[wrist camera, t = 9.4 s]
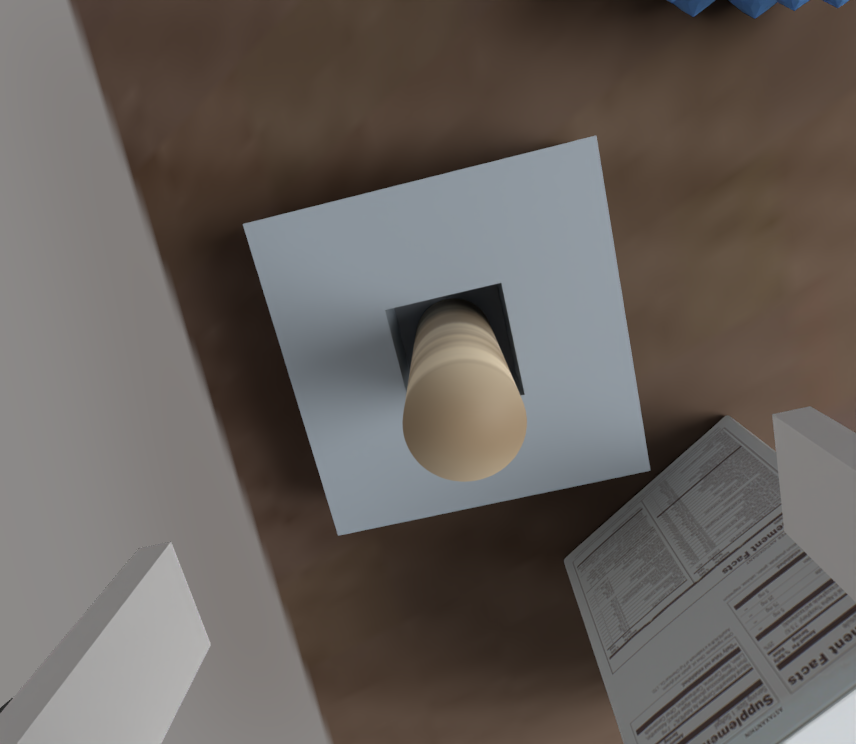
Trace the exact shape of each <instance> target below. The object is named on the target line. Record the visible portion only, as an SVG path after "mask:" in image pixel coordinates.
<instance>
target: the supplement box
mask: <svg viewBox="0 0 856 744" xmlns="http://www.w3.org/2000/svg"><path fill="white" fill-rule="evenodd" d="M564 564H565V567H566V570H567V573H568V576H569V579H570V582H571V585H572V588H573V591H574V594H575V597H576V600H577V603H578V606H579V609H580V612H581V615H582V618H583V621H584V624H585V627H586V630H587V633H588V636H589V639H590V642H591V645H592V648H593V652H594V655H595V658H596V661H597V664H598V667H599V670H600V673H601V676H602V679H603V682H604V685H605V688H606V691H607V694H608V697H609V700H610V703H611V706H612V709H613V712H614V715H615V718H616V721H617V724H618V727H619V730H620V733H621V736H622V739H623V742H624V744H856V602H855V601H854V600H853V599H852V598H851V597H850V596H849V595H848V594H847V593H846V592H845V591H844V590H843V589H842V588H841V587H840V586H839V585H838V584H837V583H836V582H835V581H834V580H833V579H832V578H831V577H829V576H828V575H827V574H826V573H825V572H824V571H823V570H822V569H821V568H820V567H819V566H818V565H817V564H816V563H815V562H814V561H813V560H812V559H811V558H810V557H809V556H808V555H807V554H806V553H805V552H804V551H803V550H802V549H801V548H800V547H799V546H798V545H797V544H796V543H795V542H794V541H793V540H792V539H791V538H790V537H789V536H788V535H787V534H786V533H785V532H784V524H783V514H782V504H781V495H780V485H779V475H778V465H777V456H776V452H775V451H774V450H773V449H772V448H770V447H769V446H768V445H766V444H765V443H764V442H763V441H761V440H760V439H759V438H757V437H756V436H755V435H753V434H752V433H751V432H750V431H748V430H747V429H746V428H744V427H743V426H742V425H741V424H739V423H738V422H737V421H735V420H734V419H733V418H731V417H730V416H725V417H724V418H722V419H721V420H720V421H719V422H718V423H717V424H716V425H715V426H714V427H712V428H711V429H710V430H709V431H708V432H707V433H706V434H704V435H703V436H702V437H701V438H700V439H699V440H698V441H697V442H695V443H694V444H693V445H692V446H691V447H690V448H689V449H687V450H686V451H685V452H684V453H683V454H682V455H681V456H679V457H678V458H677V459H676V460H675V461H674V462H673V463H672V464H670V465H669V466H668V467H667V468H666V469H665V470H664V471H662V472H661V473H660V474H659V475H658V476H657V477H656V478H655V479H653V480H652V481H651V482H650V483H649V484H648V485H647V486H646V487H644V488H643V489H642V490H641V491H640V492H639V493H638V494H636V495H635V496H634V497H633V498H632V499H631V500H630V501H629V502H627V503H626V504H625V505H624V506H623V507H622V508H621V509H619V510H618V511H617V512H616V513H615V514H614V515H613V516H612V517H610V518H609V519H608V520H607V521H606V522H605V523H604V524H603V525H601V526H600V527H599V528H598V529H597V530H596V531H595V532H594V533H592V534H591V535H590V536H589V537H588V538H587V539H586V540H585V541H583V542H582V543H581V544H580V545H579V546H578V547H577V548H576V549H574V550H573V551H572V552H571V553H570V554H569V555H568V556H567V557H566V558H565V559H564Z"/></svg>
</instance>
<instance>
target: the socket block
mask: <svg viewBox="0 0 856 744" xmlns="http://www.w3.org/2000/svg"><path fill="white" fill-rule="evenodd" d="M243 227H244V230H245V233H246V237H247V240H248V243H249V246H250V250H251V253H252V256H253V260H254V263H255V266H256V269H257V273H258V276H259V279H260V282H261V286H262V289H263V292H264V295H265V299H266V302H267V305H268V308H269V312H270V315H271V318H272V322H273V325H274V328H275V331H276V335H277V338H278V341H279V344H280V348H281V351H282V354H283V357H284V361H285V364H286V367H287V370H288V374H289V377H290V380H291V383H292V387H293V390H294V393H295V397H296V400H297V403H298V406H299V410H300V413H301V416H302V419H303V423H304V426H305V429H306V432H307V436H308V439H309V442H310V445H311V449H312V452H313V455H314V458H315V462H316V465H317V468H318V472H319V475H320V478H321V481H322V485H323V488H324V491H325V494H326V498H327V501H328V504H329V507H330V511H331V514H332V517H333V520H334V524H335V527H336V530H337V534H338V536H339V535H344V534H349V533H353V532H358V531H363V530H368V529H373V528H377V527H382V526H387V525H392V524H397V523H401V522H406V521H411V520H416V519H421V518H425V517H430V516H435V515H440V514H445V513H449V512H454V511H459V510H464V509H469V508H474V507H478V506H483V505H488V504H493V503H498V502H502V501H507V500H512V499H517V498H522V497H526V496H531V495H536V494H541V493H546V492H550V491H555V490H560V489H565V488H570V487H574V486H579V485H584V484H589V483H594V482H598V481H603V480H608V479H613V478H618V477H623V476H627V475H632V474H637V473H642V472H647V471H650V464H649V458H648V452H647V446H646V440H645V434H644V427H643V421H642V415H641V409H640V403H639V397H638V390H637V384H636V378H635V372H634V366H633V359H632V353H631V347H630V341H629V335H628V329H627V322H626V316H625V310H624V304H623V298H622V292H621V285H620V279H619V273H618V267H617V261H616V254H615V248H614V242H613V236H612V230H611V224H610V217H609V211H608V205H607V199H606V193H605V187H604V180H603V174H602V168H601V162H600V156H599V149H598V143H597V137H596V136H592V137H588V138H584V139H580V140H576V141H572V142H568V143H565V144H561V145H557V146H553V147H549V148H545V149H541V150H537V151H533V152H529V153H525V154H521V155H517V156H513V157H509V158H505V159H501V160H497V161H493V162H489V163H485V164H481V165H477V166H473V167H469V168H465V169H461V170H457V171H453V172H449V173H445V174H441V175H437V176H433V177H429V178H425V179H421V180H417V181H413V182H409V183H405V184H401V185H397V186H393V187H389V188H385V189H381V190H377V191H373V192H369V193H365V194H361V195H357V196H353V197H349V198H345V199H341V200H337V201H333V202H329V203H325V204H321V205H317V206H313V207H309V208H305V209H301V210H297V211H293V212H289V213H285V214H281V215H277V216H273V217H269V218H265V219H261V220H257V221H253V222H249V223H245V224H243ZM451 298H457V299H463V300H466V301H469V302H471V303H473V304H475V305H476V306H477V307H479V308H480V309H481V310H482V311H483V313H484V314H485V315H486V317H487V319H488V321H489V323H490V326H491V328H492V330H493V333H494V335H495V337H496V340H497V342H498V344H499V347H500V349H501V351H502V354H503V356H504V358H505V361H506V363H507V365H508V368H509V370H510V372H511V375H512V377H513V379H514V382H515V384H516V386H517V389H518V391H519V393H520V396H521V398H522V400H523V403H524V406H525V410H526V416H527V429H526V435H525V438H524V442H523V444H522V446H521V448H520V450H519V452H518V453H517V455H516V456H515V458H514V459H513V460H512V461H511V462H510V463H509V464H508V465H507V466H506V467H505V468H503V469H502V470H501V471H499V472H497V473H496V474H494V475H492V476H489V477H487V478H484V479H481V480H476V481H468V482H460V481H452V480H447V479H444V478H441V477H439V476H437V475H435V474H433V473H431V472H429V471H428V470H426V469H425V468H424V467H423V466H421V465H420V464H419V463H418V462H417V460H416V459H415V458H414V457H413V455H412V454H411V452H410V450H409V448H408V446H407V444H406V441H405V438H404V434H403V424H402V421H403V412H404V406H405V399H406V393H407V386H408V380H409V374H410V367H411V361H412V355H413V348H414V342H415V336H416V329H417V325H418V322H419V320H420V318H421V316H422V315H423V313H424V312H425V311H426V310H427V309H428V308H429V307H430V306H432V305H433V304H435V303H437V302H439V301H441V300H445V299H451Z"/></svg>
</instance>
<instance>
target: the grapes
mask: <svg viewBox="0 0 856 744" xmlns="http://www.w3.org/2000/svg"><path fill="white" fill-rule="evenodd" d="M667 1H669V2H670V3H673V4H674V5H676V6H677V7H678V8H679V9H681V10H682V11H684V12H685V13H687V14H689V15H690V16H692V17H694V16H696V15H697V14H698V13H700V12H701V11H702V10H704V9H705V8H706V7H708V6H709V5H710V4H711V3H713V2H714V1H715V0H667ZM728 1H730V2H731V3H732V4H733V5H735V6H736V7H737V8H738V9H739V10H741V11H742V12H743V13H745V14H747V15H749V16H751V17H752V18H754V19H755V18H757V17H758V16H760V15H761V14H762V13H764V12H765V11H767V10H768V9H770V8H771V7H772V6H773V5H774V4H776V3H777V2H779V3H780V4H782V5H784V6H786V7H788V8H790V9H791V10H793V11H795V10H796V9H798V8H799V7H801V6H802V5H804V4H805V3H807V2H808V1H809V0H728ZM823 1H825V2H827V3H829V4H831V5H833V6H835V7H836V8H839V7H840V6H842V5H843V4H845V3H846V2H848V1H849V0H823Z"/></svg>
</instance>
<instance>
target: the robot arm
mask: <svg viewBox="0 0 856 744" xmlns="http://www.w3.org/2000/svg"><path fill="white" fill-rule="evenodd" d="M772 417H773V427H774V436H775V446H776V456H777V465H778V475H779V485H780V495H781V504H782V514H783V524H784V532H785V533H786V534H787V535H788V536H789V537H790V538H791V539H792V540H793V541H794V542H795V543H796V544H797V545H798V546H799V547H800V548H801V549H802V550H803V551H804V552H805V553H806V554H807V555H808V556H809V557H810V558H811V559H812V560H813V561H814V562H815V563H816V564H817V565H818V566H819V567H820V568H821V569H822V570H823V571H824V572H825V573H826V574H827V575H828V576H829V577H831V578H832V579H833V580H834V581H835V582H836V583H837V584H838V585H839V586H840V587H841V588H842V589H843V590H844V591H845V592H846V593H847V594H848V595H849V596H850V597H851V598H852V599H853V600H854V601H855V602H856V433H855V432H853V431H851V430H850V429H848V428H846V427H845V426H843V425H841V424H839V423H838V422H836V421H834V420H833V419H831V418H829V417H827V416H826V415H824V414H822V413H821V412H819V411H817V410H816V409H814V408H812V407H805V408H800V409H796V410H791V411H786V412H781V413H777V414H772ZM210 645H211V643H210V641H209V638H208V636H207V633H206V631H205V628H204V625H203V623H202V621H201V618H200V615H199V612H198V610H197V608H196V605H195V602H194V600H193V597H192V594H191V592H190V589H189V587H188V584H187V582H186V579H185V576H184V574H183V571H182V569H181V566H180V564H179V561H178V558H177V556H176V553H175V550H174V548H173V545H172V543H171V542H167V543H162V544H158V545H153V546H148V547H143V548H139V549H138V550H137V551H136V552H135V553H134V555H133V556H132V557H131V558H130V559H129V561H128V562H127V563H126V564H125V565H124V566H123V568H122V569H121V570H120V571H119V572H118V574H117V575H116V576H115V577H114V578H113V580H112V581H111V582H110V583H109V584H108V586H107V587H106V588H105V589H104V590H103V592H102V593H101V594H100V595H99V596H98V598H97V599H96V600H95V601H94V603H92V605H91V606H90V607H89V608H88V609H87V611H86V612H85V613H84V614H83V615H82V617H81V618H80V619H79V620H78V622H77V623H76V624H75V625H74V626H73V627H72V629H71V630H70V631H69V632H68V633H67V634H66V636H65V637H64V638H63V639H62V640H61V642H60V643H59V644H58V645H57V647H56V648H55V649H54V650H53V651H52V652H51V654H50V655H49V656H48V657H47V658H46V660H45V661H44V662H43V663H42V664H41V665H40V667H39V668H38V669H37V670H36V671H35V673H34V674H33V675H32V676H31V678H30V679H29V680H28V681H27V682H26V684H25V685H24V686H23V687H22V688H21V689H20V691H19V692H18V693H17V694H16V695H15V696H14V698H12V699H11V700H9V701H8V702H7V703H6V704H4V705H3V706H2V707H1V708H0V744H161V743H162V741H163V739H164V737H165V735H166V733H167V731H168V729H169V727H170V725H171V723H172V721H173V719H174V717H175V715H176V713H177V711H178V709H179V707H180V705H181V703H182V701H183V699H184V697H185V695H186V693H187V691H188V689H189V687H190V685H191V683H192V681H193V679H194V677H195V675H196V673H197V671H198V669H199V667H200V665H201V663H202V661H203V659H204V657H205V655H206V653H207V651H208V649H209V647H210Z"/></svg>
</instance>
